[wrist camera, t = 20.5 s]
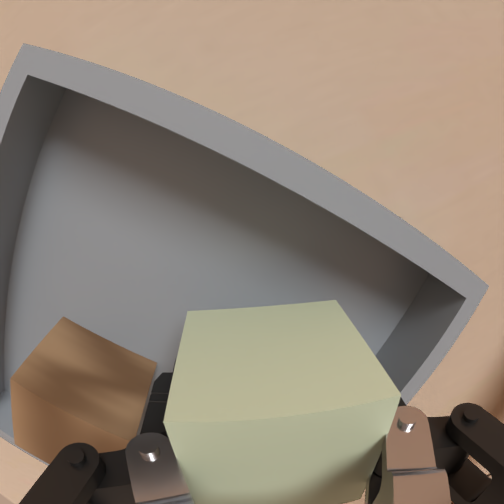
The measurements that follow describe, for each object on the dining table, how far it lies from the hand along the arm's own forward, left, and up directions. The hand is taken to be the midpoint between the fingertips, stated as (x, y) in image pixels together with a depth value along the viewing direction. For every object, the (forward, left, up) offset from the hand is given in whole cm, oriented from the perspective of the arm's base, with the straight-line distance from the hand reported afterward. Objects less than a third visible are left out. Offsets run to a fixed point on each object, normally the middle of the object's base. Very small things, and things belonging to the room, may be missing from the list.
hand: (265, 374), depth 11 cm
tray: (+3, +3, -4) cm, 6 cm away
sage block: (0, 0, 0) cm, 0 cm away
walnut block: (+6, +6, -3) cm, 9 cm away
